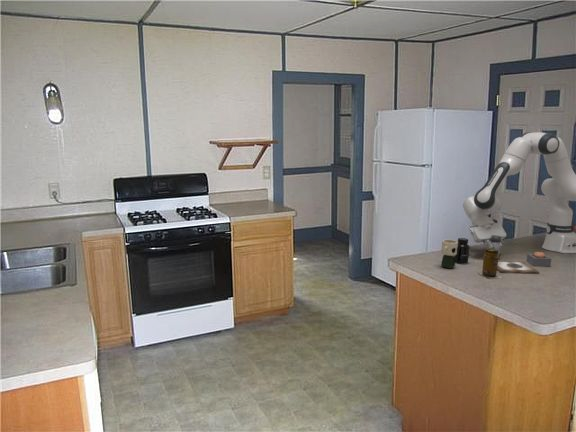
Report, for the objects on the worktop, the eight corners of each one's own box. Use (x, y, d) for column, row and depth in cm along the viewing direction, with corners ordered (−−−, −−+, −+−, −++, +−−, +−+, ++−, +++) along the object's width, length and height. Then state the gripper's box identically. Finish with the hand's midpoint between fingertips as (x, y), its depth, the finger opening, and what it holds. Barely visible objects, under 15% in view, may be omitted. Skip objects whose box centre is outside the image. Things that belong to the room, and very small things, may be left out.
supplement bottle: (463, 265, 234) (465, 241, 232) (450, 261, 239) (452, 238, 237) (470, 262, 239) (473, 239, 236) (458, 259, 244) (460, 236, 241)
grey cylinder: (496, 257, 247) (499, 235, 245) (500, 260, 243) (502, 237, 240) (487, 257, 248) (490, 235, 245) (491, 260, 243) (493, 237, 241)
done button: (541, 257, 239) (541, 252, 239) (545, 259, 235) (546, 254, 234) (532, 256, 239) (532, 251, 239) (536, 259, 235) (537, 254, 234)
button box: (542, 261, 241) (543, 254, 241) (550, 266, 234) (551, 258, 233) (526, 261, 242) (527, 253, 241) (533, 266, 234) (534, 258, 233)
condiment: (491, 272, 224) (493, 247, 222) (503, 277, 216) (505, 252, 214) (477, 273, 222) (479, 248, 220) (489, 279, 214) (491, 253, 212)
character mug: (450, 271, 224) (452, 244, 222) (436, 268, 229) (438, 241, 226) (459, 266, 232) (461, 240, 230) (445, 263, 237) (447, 237, 234)
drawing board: (523, 263, 238) (524, 261, 238) (539, 273, 222) (539, 271, 222) (487, 262, 239) (487, 260, 238) (499, 272, 223) (500, 270, 223)
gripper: (471, 223, 243) (485, 246, 236) (500, 219, 252) (514, 242, 245) (464, 229, 248) (477, 252, 241) (492, 226, 257) (506, 248, 250)
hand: (496, 247), depth 243 cm, fingers closed on grey cylinder, 4 cm apart
